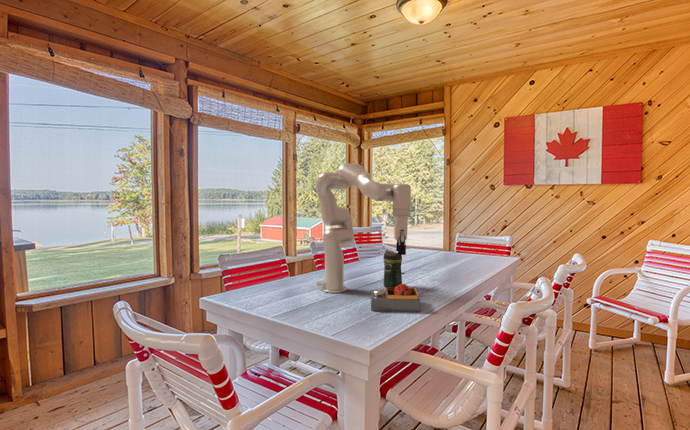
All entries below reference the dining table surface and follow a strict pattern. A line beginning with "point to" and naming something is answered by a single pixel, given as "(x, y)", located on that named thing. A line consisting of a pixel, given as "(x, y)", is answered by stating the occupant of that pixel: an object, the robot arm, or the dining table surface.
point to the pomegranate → (402, 290)
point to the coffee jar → (392, 269)
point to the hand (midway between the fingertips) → (400, 252)
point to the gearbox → (394, 301)
